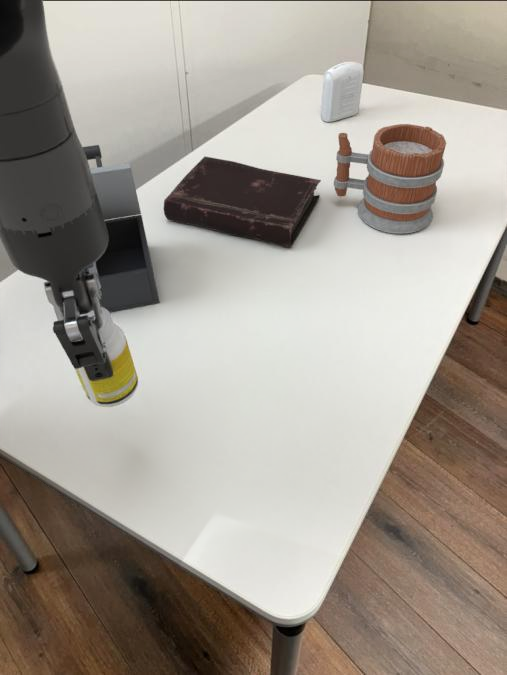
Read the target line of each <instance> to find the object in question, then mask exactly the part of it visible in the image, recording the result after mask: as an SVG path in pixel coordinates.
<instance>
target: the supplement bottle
mask: <svg viewBox="0 0 507 675" xmlns="http://www.w3.org/2000/svg"><path fill="white" fill-rule="evenodd" d="M101 309H102V313H103V317H104V324H103V327H102V328H101V332H102V336H103V340H104V342H105V343H106V347H107V348H106V351H107V353H108V356H109V359H110V362H111V365H112V367H113V376H112V377H110V378H106V379H102V380H97V381H91V380H89V378H88V376H87V374H86V371H85V369H84V367H81V368H78V369H75V368H74V370H75V372H76V374H77V377H78V380H79V382H80V384H81V387H82V389H83V391H84V393H85V395H86V397H87V399H88V400H89V402H91V403H92V404H93V405H95V406H98V407H100V408H101V407H102V408H114V407H118V406H120V405H123V404H124V403H126V402H128V401H129V400H130V399H131V398H132V397H133V396H134V395H135V394H136V392H137V390H138V386H139V377H138V373H137V369H136V367H135V363H134V360H133V357H132V353H131V350H130V347H129V344H128V340H127V338H126V335H125V332H124V329H122V327H120V326H119V325H118V324H116V323H115V322H114V321H113V317H112V314H111V312H109V311H108V310H107V309H105V308H104V307H101ZM86 315H88V317H92V316H94V315H95V314H94V311H93V310H92V311H90V312H89V313H87V314H82V315H80V316H86Z"/></svg>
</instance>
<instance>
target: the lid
mask: <svg viewBox="0 0 507 675" xmlns="http://www.w3.org/2000/svg"><path fill="white" fill-rule="evenodd" d="M82 147H83V150H84V152H85V155H86V157H87V160H88V161H90V160H95V164H96V167H93V168H90V171H91V174H92V178H93V182H94V185H95V189H96V192H97V196H98V199H99V203H100V206H101V210H102V213H103V217H104V220H111V219H117V218H123V217H129V216H135V215H142V212H141V206H140V202H139V198H138V193H137V188H136V184H135V180H134V175H133V171H132V166H131V162H126V163H120V164H112V165H107V166H106V165H105V166H103V164H102V159H103V158H102V157H103V156H102V151H101V147H100V145H99V144H95V145H88V146H82Z"/></svg>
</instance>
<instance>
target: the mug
mask: <svg viewBox="0 0 507 675" xmlns="http://www.w3.org/2000/svg"><path fill="white" fill-rule="evenodd" d="M348 137H349V136H348V133H347V132H340V133H338V137H337V138H338V145H339V148H338V150H337V152H336V162H337V163H336V164H337V167H336V176H335V177H334V180H333V187H334V190H335V194H336V196H337V197H339V198H343V197H346V196H347V191H348V189H354V190H361V191H362V195H363V198H362V199H361V201H360V202H359V203H358V206H357V212H358V215H359V217H360V219H362V221H363V222H364V224H367V225H368V226H369V227H370V228H372V229H375V230H377V231H380V232H382V233H387V234H393V235H405V234H406V235H407V234H413V233H415V232H416V233H417V232H418V231H421V230H423V229H425V228H426V227H428V226H429V225H430V224H431V222H432V221H433V218H434V213H433V210H432V206H433V205H434V204H435V200H436V197H437V193H438V186H437V182H438V181H439V180H440V179H441V177H442V174H443V170H444V167H445V160H444V154H445V149H446V146H447V140H446V139H445V136H444V135H443V134H442V133H439V132H438V131H436V130H434V129H433V128H432V127H431V126H422V125H418V124H417V125H416V124H410V123H398V124H392V125H388V126H383V127H381V128H379V129H378V130H377V131H376V132H375V134H374V137H373V143H372V150H370V151H369V153H362V152H361V153H360V152H354V151H352V150H353V149H352V146H351V141H350V140H349V138H348ZM351 163H355V164H363V165H366V170H367V172H368V175H367V176H366V177H365V179H360V178H352V177H350V167H351Z"/></svg>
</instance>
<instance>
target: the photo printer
mask: <svg viewBox="0 0 507 675" xmlns="http://www.w3.org/2000/svg"><path fill="white" fill-rule="evenodd" d="M364 74H365V72H364V67H363V64H362V63H359V62H356V61H344V62H341V63H338V64H336V65H333V66H332V67H330V68H329V69H327V70H326V71H325V73H324V75H323V82H322V94H321V106H320V117H321V120H322V121H323V122H326V123H330V122H331V123H332V122H336V121H339V120H343V119H346V118H350V117H353V116H356V115H358V114H359V111H360V104H361V96H362V90H363V81H364Z"/></svg>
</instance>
